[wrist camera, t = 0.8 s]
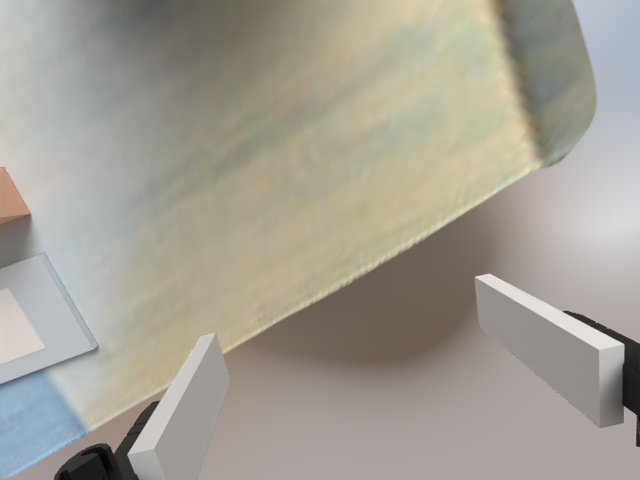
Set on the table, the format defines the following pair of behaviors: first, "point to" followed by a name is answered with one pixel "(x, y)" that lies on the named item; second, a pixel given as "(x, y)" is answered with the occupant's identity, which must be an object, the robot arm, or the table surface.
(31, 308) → the white flat board
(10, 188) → the terracotta block
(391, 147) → the table surface
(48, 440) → the table surface
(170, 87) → the table surface
